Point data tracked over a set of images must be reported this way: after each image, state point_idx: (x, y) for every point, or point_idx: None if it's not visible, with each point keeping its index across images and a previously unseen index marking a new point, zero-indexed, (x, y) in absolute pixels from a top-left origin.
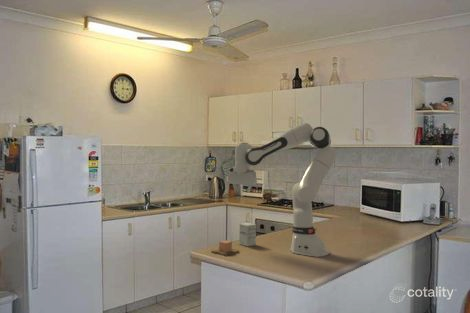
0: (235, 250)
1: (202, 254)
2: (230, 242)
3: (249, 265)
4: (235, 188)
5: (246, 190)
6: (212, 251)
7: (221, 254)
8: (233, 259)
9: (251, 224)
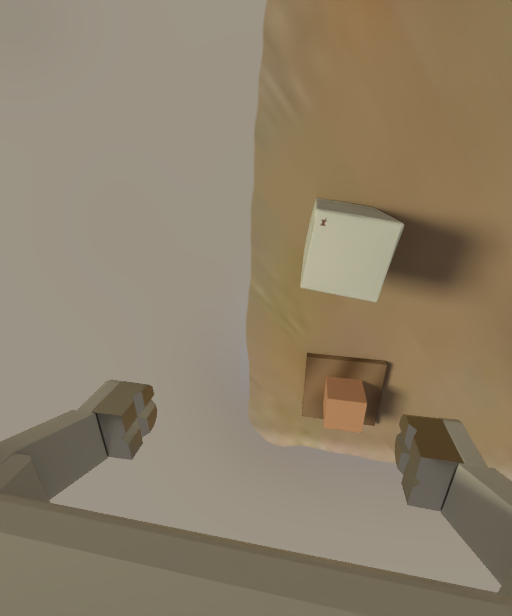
0: (373, 372)
1: (296, 441)
2: (365, 409)
3: (508, 463)
4: (105, 452)
5: (406, 487)
6: (306, 415)
7: None
8: None
9: (379, 253)
